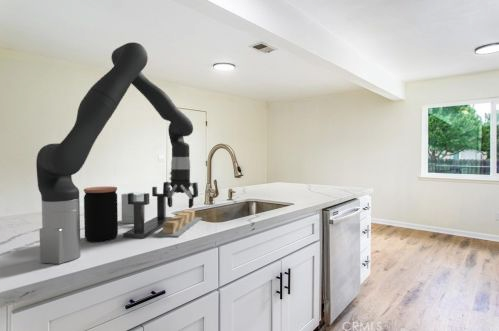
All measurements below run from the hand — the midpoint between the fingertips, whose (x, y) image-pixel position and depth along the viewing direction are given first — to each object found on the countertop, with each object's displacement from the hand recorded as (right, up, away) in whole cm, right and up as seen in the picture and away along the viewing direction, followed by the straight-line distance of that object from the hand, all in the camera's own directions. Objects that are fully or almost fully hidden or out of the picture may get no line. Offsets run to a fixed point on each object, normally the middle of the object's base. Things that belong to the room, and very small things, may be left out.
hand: (180, 207), depth 123 cm
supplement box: (-23, -8, +10) cm, 26 cm away
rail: (0, -8, +1) cm, 8 cm away
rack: (-11, -8, -2) cm, 14 cm away
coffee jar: (-24, -9, -16) cm, 31 cm away
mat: (0, -8, +1) cm, 8 cm away
